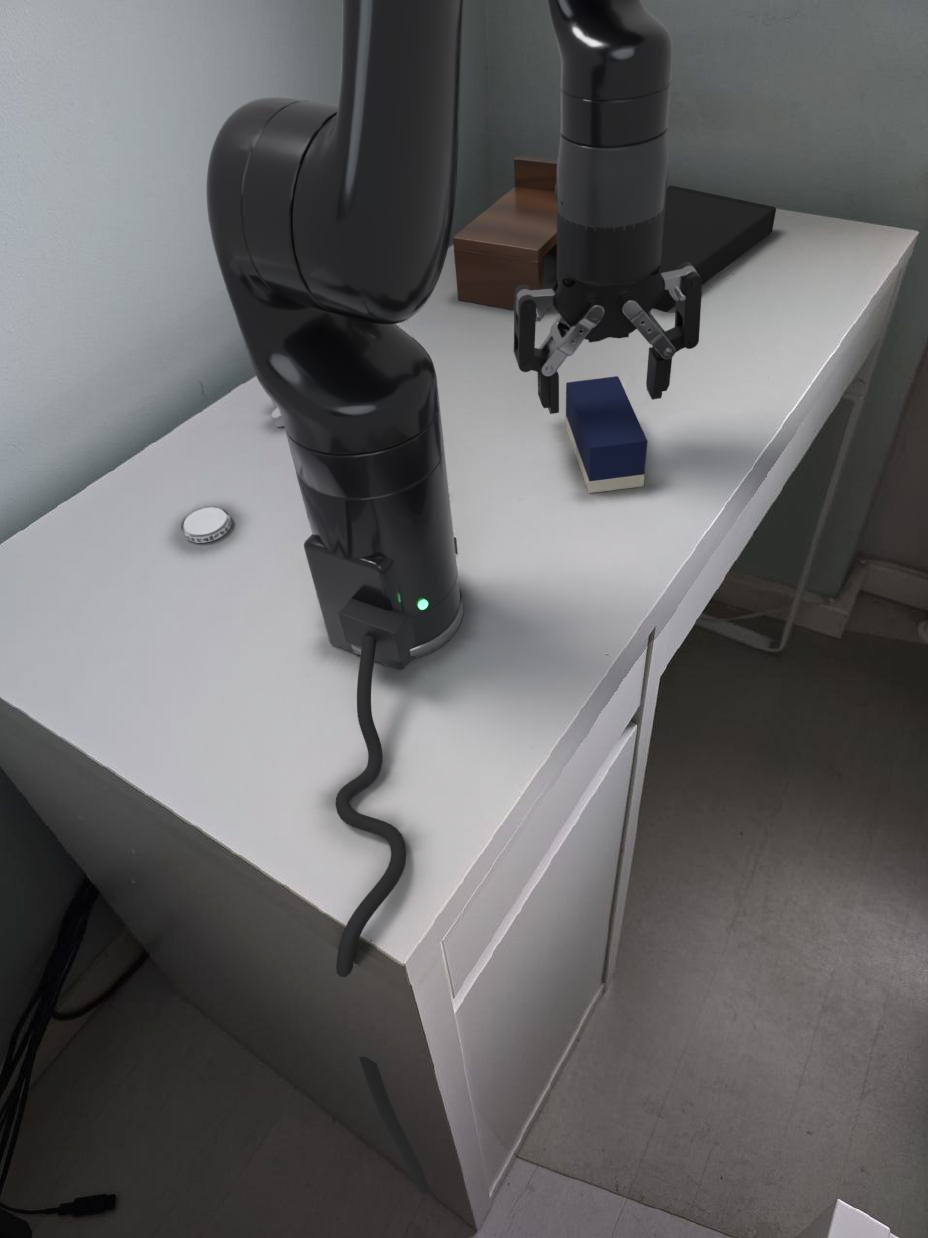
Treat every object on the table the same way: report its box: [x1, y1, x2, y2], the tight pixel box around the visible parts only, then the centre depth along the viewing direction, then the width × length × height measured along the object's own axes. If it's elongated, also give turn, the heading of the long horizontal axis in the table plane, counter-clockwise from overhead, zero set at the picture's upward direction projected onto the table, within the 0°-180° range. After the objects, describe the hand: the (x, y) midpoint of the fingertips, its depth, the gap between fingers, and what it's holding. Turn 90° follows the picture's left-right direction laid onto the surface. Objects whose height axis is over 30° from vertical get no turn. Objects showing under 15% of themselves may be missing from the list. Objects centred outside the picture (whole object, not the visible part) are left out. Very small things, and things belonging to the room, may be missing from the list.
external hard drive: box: [652, 185, 777, 313], centre depth 100 cm, size 14×23×3 cm, turn 139°
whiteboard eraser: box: [565, 375, 648, 494], centre depth 74 cm, size 10×5×4 cm, turn 6°
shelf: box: [452, 154, 557, 311], centre depth 97 cm, size 16×10×10 cm, turn 151°
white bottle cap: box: [180, 505, 232, 544], centre depth 72 cm, size 4×4×1 cm
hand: (603, 401), depth 72 cm, fingers open, 8 cm apart
